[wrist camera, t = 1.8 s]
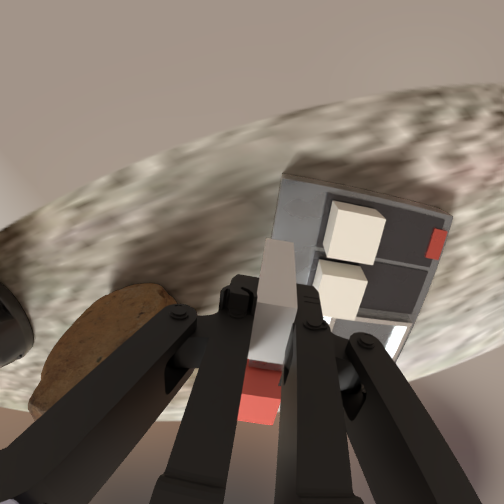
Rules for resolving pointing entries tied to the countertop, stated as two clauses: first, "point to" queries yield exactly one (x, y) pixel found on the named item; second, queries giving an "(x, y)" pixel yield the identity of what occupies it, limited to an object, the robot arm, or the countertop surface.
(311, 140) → the countertop surface
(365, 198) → the panel
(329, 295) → the toggle
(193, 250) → the countertop surface
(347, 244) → the toggle
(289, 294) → the robot arm
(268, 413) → the coral toy cube
